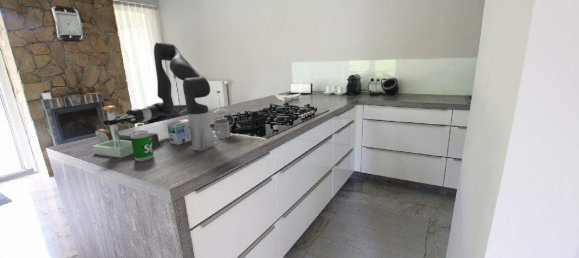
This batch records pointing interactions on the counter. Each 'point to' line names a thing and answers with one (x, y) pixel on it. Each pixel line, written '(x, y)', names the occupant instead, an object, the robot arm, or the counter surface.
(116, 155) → the tray
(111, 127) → the gold capped white cylinder
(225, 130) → the french press
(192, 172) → the counter surface
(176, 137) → the light bulb box
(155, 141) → the hitch bar
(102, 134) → the bread slice
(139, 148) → the soda can
